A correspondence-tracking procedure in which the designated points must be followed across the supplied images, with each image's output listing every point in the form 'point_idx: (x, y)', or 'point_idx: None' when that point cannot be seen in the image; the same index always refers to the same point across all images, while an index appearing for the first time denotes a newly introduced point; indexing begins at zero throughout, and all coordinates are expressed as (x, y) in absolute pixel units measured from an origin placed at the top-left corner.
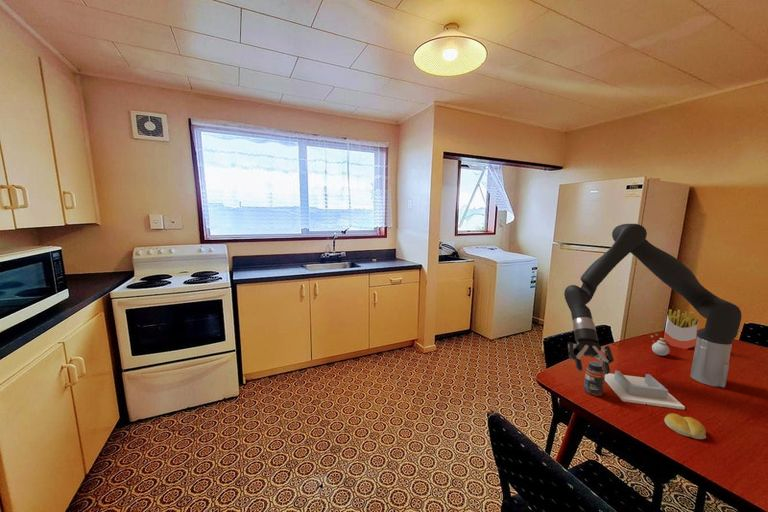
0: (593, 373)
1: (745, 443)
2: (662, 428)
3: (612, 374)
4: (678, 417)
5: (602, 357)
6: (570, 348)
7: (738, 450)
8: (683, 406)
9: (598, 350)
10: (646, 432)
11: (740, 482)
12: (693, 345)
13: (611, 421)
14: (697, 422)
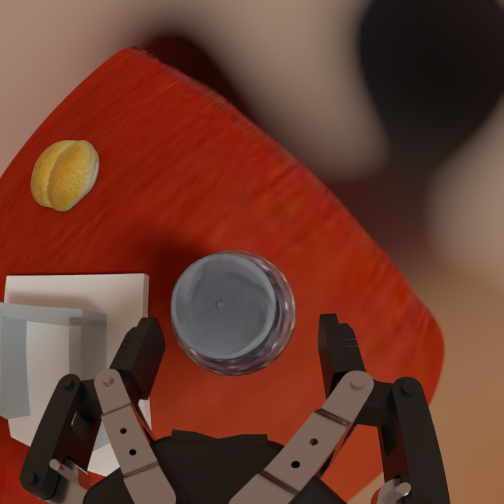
0: (262, 257)
1: (8, 180)
2: (118, 157)
3: (109, 471)
4: (63, 161)
5: (122, 405)
6: (436, 448)
7: (34, 150)
8: (7, 278)
9: (123, 461)
10: (174, 124)
11: (107, 71)
12: None
13: (254, 136)
14: (41, 156)
